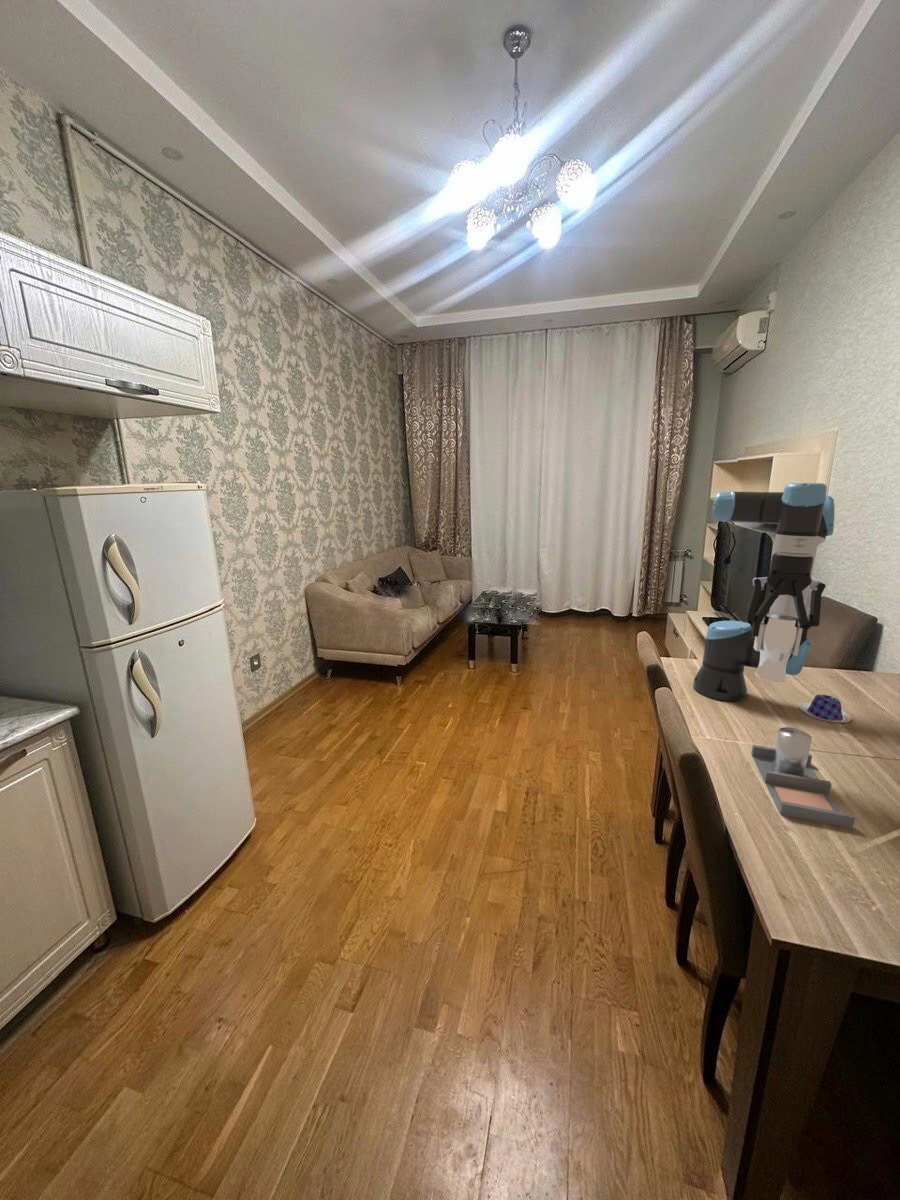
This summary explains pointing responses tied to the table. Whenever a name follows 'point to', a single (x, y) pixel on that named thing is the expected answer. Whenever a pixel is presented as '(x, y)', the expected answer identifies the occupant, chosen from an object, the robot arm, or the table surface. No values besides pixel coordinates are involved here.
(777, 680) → the beer glass
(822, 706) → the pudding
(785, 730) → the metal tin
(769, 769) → the slot rack
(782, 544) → the robot arm
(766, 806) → the table surface
